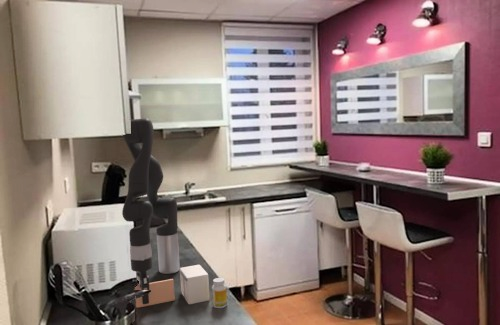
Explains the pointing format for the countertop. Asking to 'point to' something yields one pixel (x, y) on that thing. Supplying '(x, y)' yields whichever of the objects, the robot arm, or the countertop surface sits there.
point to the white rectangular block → (194, 284)
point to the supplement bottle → (219, 293)
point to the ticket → (158, 293)
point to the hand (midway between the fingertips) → (144, 299)
